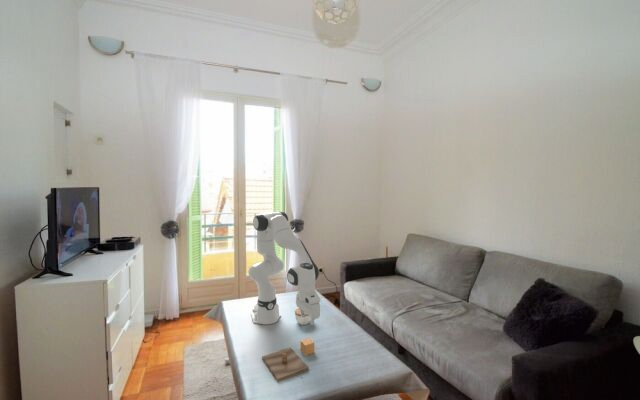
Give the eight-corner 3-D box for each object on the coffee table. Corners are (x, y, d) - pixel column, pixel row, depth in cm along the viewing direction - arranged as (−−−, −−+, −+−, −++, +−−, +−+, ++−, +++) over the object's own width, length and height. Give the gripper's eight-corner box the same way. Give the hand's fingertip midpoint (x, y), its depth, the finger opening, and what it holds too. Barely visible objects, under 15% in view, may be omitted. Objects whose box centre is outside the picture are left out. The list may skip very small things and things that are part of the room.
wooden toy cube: (300, 350, 159) (300, 340, 159) (309, 347, 162) (309, 337, 162) (305, 355, 155) (305, 345, 154) (314, 352, 158) (314, 342, 157)
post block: (262, 359, 152) (261, 349, 151) (290, 349, 160) (290, 340, 160) (277, 382, 135) (277, 370, 134) (308, 370, 143) (308, 359, 143)
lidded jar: (312, 319, 195) (312, 305, 194) (310, 327, 184) (310, 312, 183) (296, 318, 196) (296, 304, 195) (293, 326, 185) (293, 311, 185)
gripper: (292, 289, 163) (293, 314, 164) (311, 302, 146) (311, 330, 147) (303, 287, 167) (303, 311, 168) (322, 299, 149) (322, 326, 150)
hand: (307, 320), depth 157 cm, fingers open, 8 cm apart
